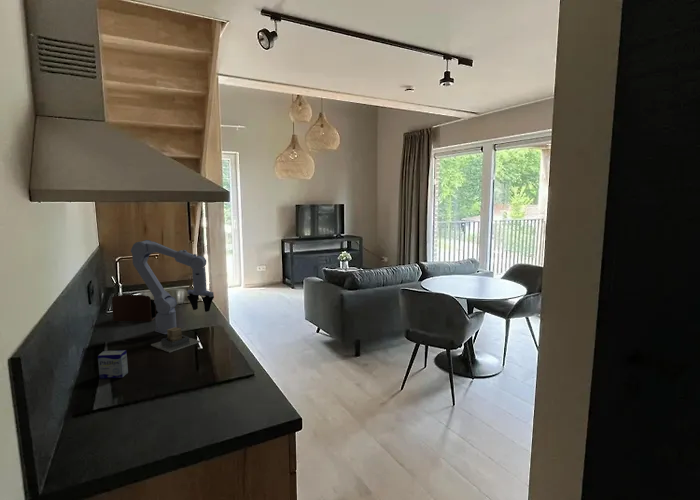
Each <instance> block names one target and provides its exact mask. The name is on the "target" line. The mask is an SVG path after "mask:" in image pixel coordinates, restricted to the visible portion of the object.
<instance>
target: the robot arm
mask: <svg viewBox="0 0 700 500" xmlns="http://www.w3.org/2000/svg"><path fill="white" fill-rule="evenodd" d="M130 253H131V256H132V258H131V259H132V265H133V267H134V268H135V269H136V271H137V273H138V275H139V276H140V277H141V279H142V281H143V282H144V284H145V285H146V287H147V288H148V290H149V292H151V295H152V296H153V300H154V303H155V305H156V310H157V312H158V313H157V314H156V317H155V320H154V321H155V329H154V332H156V333H159V334H162V335H168V334H167V330H168V329H171V328H175V327H177V326H178V325H177V316H176V315H177V314H176V312H177V311H176V307H177V304H178V302H177V301H178V300H176V298H175V297H173V296H172V295H171V294H170V292H169V291H166V290H165V288H164V287H163V285H162V284H161V282H160V280H159V279H158V277H157V276H156V274H155V273H154V271H153V270H152V268H151V267H150V265H149V263H148V260H149V257H150V256H151V254H155V253H157V254H161V255H165V256H168V257H170V258H174V260H175V262H177V263H179V264H182V265H185V266H187V267H190V268H191V269H192V284H193V285H192V286H193V289H188V290H186V291H187V292H186V293H187V296H186V298H187V299H188V301H189V303H190V305H191V308H192V310H193V311H197V310H198V309H199V297H200V296H202V297H201V300H202V302H203V305H204V306H203V307H204V312H205V313H208V312H210V310H211V306H212V302H213V300H214V298H215V296H214V295H215V294H214V291H211V290H207V273H206V265H207V259H206V257H204V256H203V255H197V254H196V253H194V254H193V253H190V252H188V250H186V249H181V250H178V251H177V250H175V249H173V248H170V247H168V246H165V245H164V244H161V243H158V242H156V241H152V240H150V239H145V240H143V241H142V240H141V241H137V242H134V243H133V245H132V247H131V249H130ZM177 328H178V327H177Z"/></svg>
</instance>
